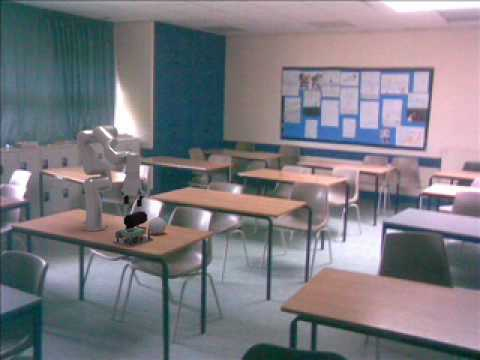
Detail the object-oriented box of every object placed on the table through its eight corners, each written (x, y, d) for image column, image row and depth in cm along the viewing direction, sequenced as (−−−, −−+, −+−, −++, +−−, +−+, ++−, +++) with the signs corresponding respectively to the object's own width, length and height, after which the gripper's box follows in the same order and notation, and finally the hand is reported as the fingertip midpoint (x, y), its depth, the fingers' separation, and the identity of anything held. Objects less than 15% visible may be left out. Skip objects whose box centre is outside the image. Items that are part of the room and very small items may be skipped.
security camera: (120, 232, 320) (120, 216, 318) (138, 226, 336) (138, 210, 335) (130, 234, 317) (130, 217, 315) (148, 227, 334) (147, 211, 332)
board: (130, 238, 294) (130, 231, 293) (121, 235, 297) (121, 229, 297) (145, 233, 304) (145, 227, 303) (136, 231, 307) (136, 225, 307)
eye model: (169, 233, 321) (169, 216, 320) (159, 236, 312) (159, 220, 311) (155, 230, 326) (155, 214, 324) (145, 234, 317) (145, 217, 315)
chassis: (130, 247, 290) (130, 234, 289) (113, 243, 297) (113, 230, 296) (153, 240, 305) (153, 228, 304) (136, 236, 312) (136, 224, 311)
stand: (120, 238, 308) (120, 233, 307) (115, 237, 310) (115, 232, 309) (133, 234, 316) (133, 229, 316) (128, 233, 318) (128, 228, 318)
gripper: (116, 174, 298) (116, 204, 300) (139, 177, 288) (139, 208, 291) (126, 172, 304) (126, 202, 307) (149, 175, 295) (149, 206, 297)
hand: (132, 205), depth 299 cm, fingers open, 9 cm apart
